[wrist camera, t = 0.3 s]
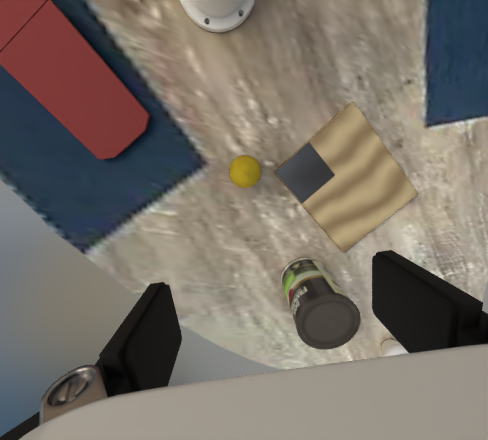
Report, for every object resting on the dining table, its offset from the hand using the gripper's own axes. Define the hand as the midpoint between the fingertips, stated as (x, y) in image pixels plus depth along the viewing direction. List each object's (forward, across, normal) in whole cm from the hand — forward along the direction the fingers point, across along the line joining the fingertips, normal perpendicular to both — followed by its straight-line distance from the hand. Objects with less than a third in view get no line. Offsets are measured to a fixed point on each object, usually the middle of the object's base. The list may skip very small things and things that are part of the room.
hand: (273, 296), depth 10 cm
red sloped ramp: (+35, +26, -23) cm, 49 cm away
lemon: (+36, 0, -4) cm, 36 cm away
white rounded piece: (+36, -29, +41) cm, 62 cm away
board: (+35, -20, +1) cm, 40 cm away
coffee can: (+36, -10, +20) cm, 43 cm away
